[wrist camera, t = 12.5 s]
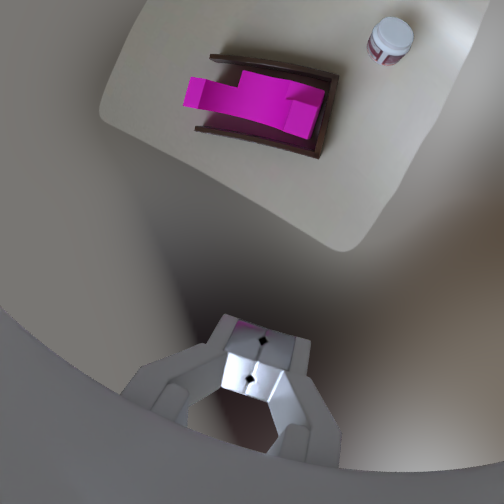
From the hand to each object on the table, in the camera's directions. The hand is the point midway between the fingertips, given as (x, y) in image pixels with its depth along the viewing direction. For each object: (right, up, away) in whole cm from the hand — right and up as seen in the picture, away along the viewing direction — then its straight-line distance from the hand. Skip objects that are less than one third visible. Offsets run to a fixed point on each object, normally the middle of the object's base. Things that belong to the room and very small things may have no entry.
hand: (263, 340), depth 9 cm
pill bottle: (+17, +29, +17) cm, 38 cm away
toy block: (+1, +23, +25) cm, 34 cm away
